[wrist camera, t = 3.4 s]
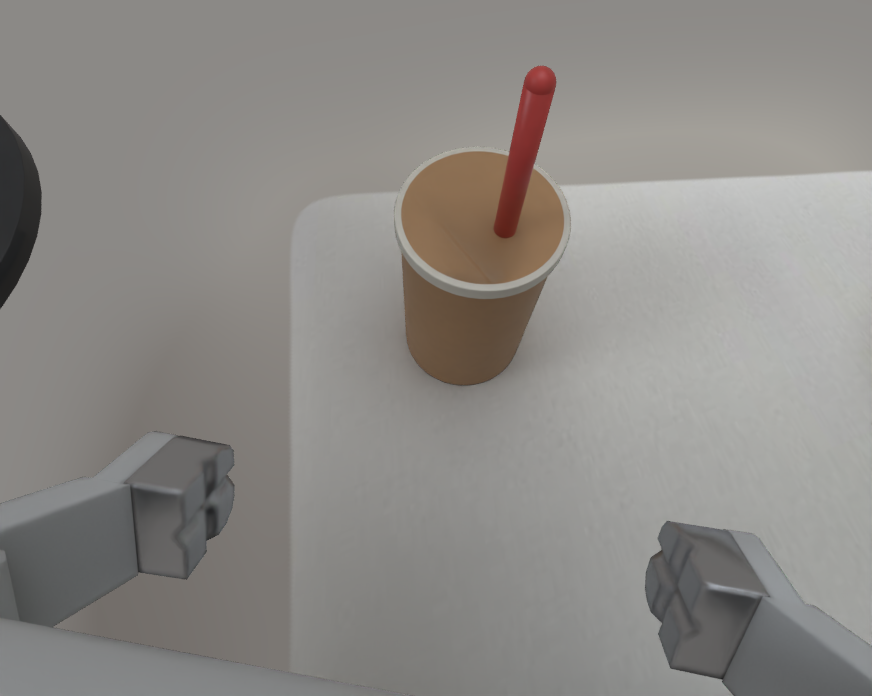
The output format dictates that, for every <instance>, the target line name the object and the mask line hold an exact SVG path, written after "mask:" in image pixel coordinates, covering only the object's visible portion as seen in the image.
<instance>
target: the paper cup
mask: <svg viewBox="0 0 872 696" xmlns="http://www.w3.org/2000/svg"><path fill="white" fill-rule="evenodd" d="M555 87H556V77H555V74H554V72H553V71H552V70H551V69H550V68H548V67H546V66H537V67H534V68H533V69H531V70H530V71H529V72H528V74H527V75H526V77H525V80H524V85H523V89H522V94H521V99H520V104H519V109H518V113H517V118H516V123H515V128H514V132H513V137H512V142H511V147H510V152H509V151H506V150H501V149H496V148H488V147H466V148H459V149H454V150H450V151H447V152H444V153H441V154H439V155H436V156H434V157H432V158H430V159H429V160H427V161H425V162H424V163H422V165H420V166H419V167H417V168H416V169H415V170H414V171H413V172H412V173H411V174H410V175H409V176H408V178H407V179H406V181H405V182H404V183H403V185H402V187H401V189H400V191H399V193H398V196H397V199H396V203H395V208H394V225H395V233H396V239H397V242H398V245H399V248H400V250H401V252H402V269H403V287H404V304H405V322H406V337H407V343H408V347H409V350H410V352H411V354H412V356H413V358H414V359H415V361H416V362H417V363H418V365H419V366H420V367H421V368H422V369H423V370H424V371H425V372H427V373H428V374H430V375H431V376H433V377H434V378H436V379H438V380H441V381H443V382H446V383H450V384H456V385H473V384H478V383H482V382H485V381H487V380H490V379H492V378H493V377H495V376H497V375H498V374H499V373H501V372H502V371H503V370H504V369H505V368H506V367H507V366H508V365H509V363H510V362H511V360H512V359H513V357H514V355H515V353H516V350H517V348H518V345H519V343H520V341H521V338H522V336H523V334H524V331H525V329H526V326H527V324H528V322H529V319H530V317H531V315H532V312H533V310H534V307H535V305H536V303H537V300H538V298H539V296H540V293H541V291H542V288H543V286H544V284H545V281H546V279H547V277H548V275H549V274H550V273H551V272H552V271H553V270H554V268H555V267H556V266H557V264H558V263H559V261H560V259H561V257H562V255H563V253H564V251H565V249H566V246H567V243H568V240H569V236H570V231H571V217H570V210H569V207H568V204H567V200H566V198H565V196H564V194H563V192H562V190H561V189H560V187H559V186H558V184H557V183H556V182H555V181H554V180H553V179H552V177H551V176H550V175H549V174H548V173H547V172H545V171H544V170H543V169H542V168H541V167H539V166H538V165H537V164H535V160H536V156H537V153H538V149H539V145H540V142H541V138H542V135H543V131H544V127H545V123H546V120H547V116H548V113H549V109H550V105H551V102H552V98H553V95H554V91H555Z"/></svg>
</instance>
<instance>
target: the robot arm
mask: <svg viewBox="0 0 872 696" xmlns="http://www.w3.org/2000/svg"><path fill="white" fill-rule="evenodd" d="M233 466H234V450H233V449H232V448H231V446H230V445H226V444H221V443H216V442H211V441H206V440H201V439H195V438H190V437H185V436H178V435H174V434H169V433H163V432H157V431H154V432H148V433H147V434H145V435H144V436H143V437H142V438H140V439H139V440H138V441H137V442H135V444H133V445H132V446H131V447H130V448H128V449H127V450H126V451H125V452H123V453H122V454H121V455H120V456H118V457H117V458H116V459H115V460H113V461H112V462H111V463H110V464H109V465H107V466H106V467H105V468H104V469H103V470H101V471H100V472H99V473H98V474H96V475H95V476H94V477H93V478H89V477H81V478H78V479H75V480H71V481H68V482H65V483H62V484H59V485H56V486H53V487H50V488H47V489H44V490H40V491H37V492H34V493H31V494H28V495H25V496H21V497H18V498H15V499H12V500H9V501H6V502H3V503H0V696H412V695H407V694H402V693H397V692H391V691H386V690H381V689H375V688H370V687H365V686H359V685H354V684H349V683H344V682H338V681H333V680H328V679H322V678H317V677H312V676H306V675H301V674H296V673H290V672H285V671H280V670H275V669H269V668H264V667H259V666H253V665H248V664H242V663H238V662H232V661H227V660H222V659H216V658H211V657H206V656H201V655H195V654H190V653H185V652H180V651H174V650H169V649H164V648H158V647H153V646H147V645H142V644H137V643H132V642H127V641H121V640H116V639H111V638H105V637H100V636H95V635H89V634H84V633H79V632H74V631H69V630H63V629H58V628H53V626H55V625H57V624H58V623H60V622H62V621H63V620H65V619H67V618H68V617H70V616H71V615H73V614H75V613H76V612H78V611H79V610H81V609H83V608H85V607H86V606H88V605H90V604H91V603H93V602H94V601H96V600H98V599H99V598H101V597H103V596H104V595H106V594H108V593H109V592H111V591H113V590H114V589H116V588H117V587H119V586H121V585H123V584H124V583H126V582H127V581H129V580H131V579H132V578H134V577H136V576H137V575H138V572H140V573H147V574H153V575H160V576H166V577H173V578H180V579H188V577H189V576H190V574H191V573H192V571H193V570H194V569H195V567H196V566H197V565H198V563H199V562H200V560H201V559H202V558H203V556H204V555H205V553H206V551H207V550H206V541H207V540H209V539H211V538H213V537H215V536H217V535H219V533H220V532H221V530H222V529H223V528H224V526H225V525H226V523H227V520H228V518H229V515H230V513H231V510H232V506H233V501H234V484H233V482H232V481H231V479H230V478H229V476H228V475H227V474H228V472H229V471H230V470H231V469H232V467H233ZM658 541H659V543H660V546H661V548H662V550H661V551H660V552H658V553H657V554H655V555H654V556H652V557H651V558H650V561H649V564H648V567H647V571H646V580H645V591H646V598H647V602H648V605H649V608H650V611H651V613H652V614H653V615H654V616H655V617H656V618H657V619H658V620H659V621H660V622H661V623H662V625H661V627H660V630H659V633H658V635H659V637H660V640H661V643H662V646H663V649H664V652H665V654H666V657H667V660H668V663H669V666H670V668H671V669H675V670H680V671H685V672H690V673H694V674H699V675H704V676H708V677H713V678H718V679H723V681H722V683H723V684H724V685H725V686H726V687H727V688H728V689H729V691H730V692H731V693H732V694H733V695H734V696H872V646H871V645H869V644H868V643H866V642H865V641H864V640H862V639H861V638H859V637H858V636H857V635H855V634H854V633H852V632H851V631H850V630H848V629H847V628H845V627H844V626H843V625H841V624H840V623H838V622H837V621H836V620H834V619H833V618H831V617H830V616H829V615H827V614H826V613H824V612H823V611H821V610H820V609H819V608H817V607H816V606H814V605H809V604H805V603H804V602H803V600H802V599H801V597H800V596H799V594H798V593H797V592H796V590H795V589H794V587H793V586H792V584H791V583H790V582H789V580H788V579H787V577H786V576H785V574H784V573H783V572H782V570H781V569H780V567H779V566H778V564H777V563H776V561H775V560H774V559H773V557H772V556H771V554H770V553H769V551H768V550H767V549H766V547H765V546H764V544H763V543H762V541H761V540H760V538H758V537H757V536H755V535H754V534H752V533H747V532H740V531H733V530H726V529H723V530H721V529H715V528H709V527H702V526H696V525H690V524H684V523H677V522H671V521H666V523H665V524H664V525H663V526H662V528H661V531H660V533H659V536H658Z"/></svg>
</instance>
